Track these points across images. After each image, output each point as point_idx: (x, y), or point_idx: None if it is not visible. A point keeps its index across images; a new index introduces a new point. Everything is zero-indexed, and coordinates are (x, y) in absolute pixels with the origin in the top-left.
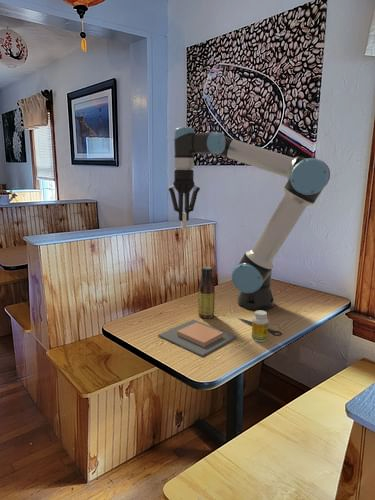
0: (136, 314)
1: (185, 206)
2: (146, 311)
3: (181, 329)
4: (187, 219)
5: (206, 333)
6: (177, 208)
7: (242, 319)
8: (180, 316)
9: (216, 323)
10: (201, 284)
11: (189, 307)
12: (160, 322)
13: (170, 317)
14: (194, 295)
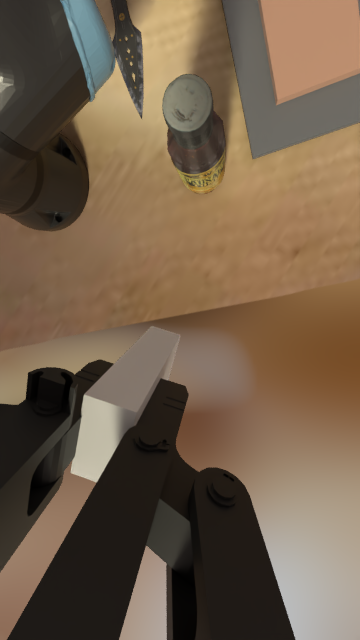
0: (357, 278)
1: (8, 519)
2: (322, 283)
3: (346, 71)
4: (101, 366)
5: (303, 5)
6: (212, 518)
7: (136, 98)
8: (264, 205)
9: None
10: (219, 132)
11: (208, 249)
12: (334, 195)
13: (291, 213)
14: (150, 315)
